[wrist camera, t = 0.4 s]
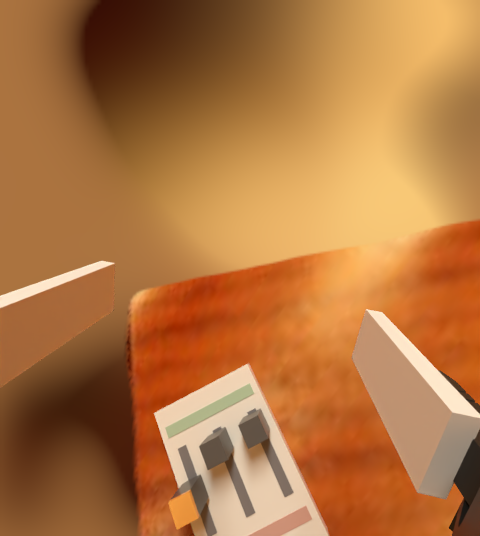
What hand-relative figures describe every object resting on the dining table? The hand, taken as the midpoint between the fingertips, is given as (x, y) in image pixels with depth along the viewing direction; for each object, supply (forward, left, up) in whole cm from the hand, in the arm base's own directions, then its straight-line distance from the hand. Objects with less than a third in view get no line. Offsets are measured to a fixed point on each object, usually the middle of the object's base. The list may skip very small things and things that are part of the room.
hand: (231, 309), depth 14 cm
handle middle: (-10, +13, -31) cm, 35 cm away
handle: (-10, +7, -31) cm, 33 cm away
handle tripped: (-14, +19, -31) cm, 39 cm away
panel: (-14, +13, -33) cm, 39 cm away
